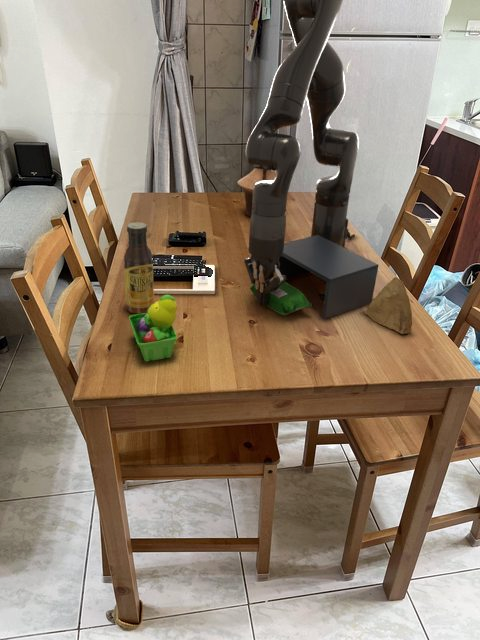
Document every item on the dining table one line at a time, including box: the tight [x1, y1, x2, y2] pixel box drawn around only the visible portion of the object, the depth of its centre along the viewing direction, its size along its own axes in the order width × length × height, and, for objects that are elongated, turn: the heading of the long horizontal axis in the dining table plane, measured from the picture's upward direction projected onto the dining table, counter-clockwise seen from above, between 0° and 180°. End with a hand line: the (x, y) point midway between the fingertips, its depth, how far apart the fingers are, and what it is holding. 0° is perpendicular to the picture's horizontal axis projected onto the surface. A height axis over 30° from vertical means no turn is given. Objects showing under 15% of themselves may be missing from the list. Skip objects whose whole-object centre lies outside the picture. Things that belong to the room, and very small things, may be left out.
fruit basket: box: [128, 294, 178, 362], centre depth 100 cm, size 11×9×11 cm
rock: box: [364, 276, 413, 335], centre depth 112 cm, size 11×9×10 cm
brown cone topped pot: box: [237, 168, 277, 217], centre depth 166 cm, size 18×17×28 cm
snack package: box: [249, 281, 312, 316], centre depth 118 cm, size 7×16×5 cm, turn 35°
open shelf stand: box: [279, 235, 379, 320], centre depth 123 cm, size 15×21×10 cm
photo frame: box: [153, 264, 216, 295], centre depth 128 cm, size 15×1×18 cm
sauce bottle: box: [123, 221, 155, 314], centre depth 111 cm, size 6×6×20 cm
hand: (262, 304), depth 116 cm, fingers closed
